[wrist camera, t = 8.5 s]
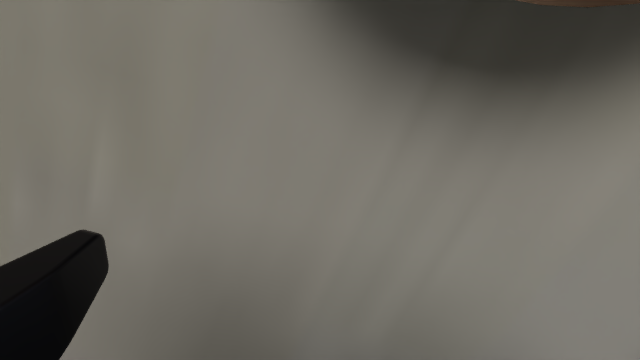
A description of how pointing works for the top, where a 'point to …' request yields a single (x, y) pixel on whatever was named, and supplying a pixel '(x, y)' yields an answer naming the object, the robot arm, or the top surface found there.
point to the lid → (582, 2)
